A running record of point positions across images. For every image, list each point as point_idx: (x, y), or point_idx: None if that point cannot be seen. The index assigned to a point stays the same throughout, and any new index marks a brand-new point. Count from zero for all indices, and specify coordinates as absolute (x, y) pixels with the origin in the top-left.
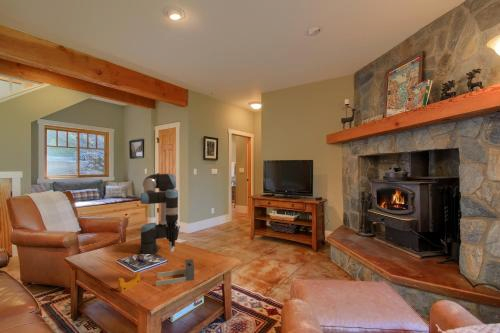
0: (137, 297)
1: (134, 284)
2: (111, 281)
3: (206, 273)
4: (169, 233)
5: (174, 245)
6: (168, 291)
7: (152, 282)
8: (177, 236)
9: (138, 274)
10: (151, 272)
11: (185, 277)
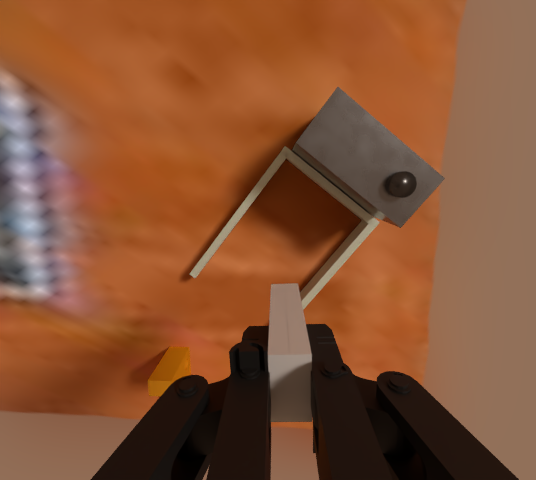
0: None
1: (189, 374)
2: (73, 403)
3: (408, 68)
4: None
5: (331, 334)
6: (373, 327)
7: (233, 315)
8: (482, 456)
9: None
10: (120, 253)
11: (378, 223)
